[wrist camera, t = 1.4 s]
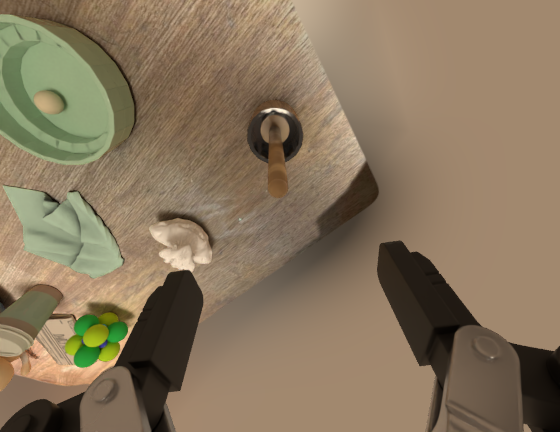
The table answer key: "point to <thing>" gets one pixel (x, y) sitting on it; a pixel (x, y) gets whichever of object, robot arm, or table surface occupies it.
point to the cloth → (65, 232)
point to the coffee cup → (26, 319)
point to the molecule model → (96, 339)
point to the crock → (256, 139)
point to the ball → (48, 102)
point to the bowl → (60, 92)
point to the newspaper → (58, 337)
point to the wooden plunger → (276, 152)
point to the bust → (182, 243)
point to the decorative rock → (1, 307)
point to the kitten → (3, 370)
